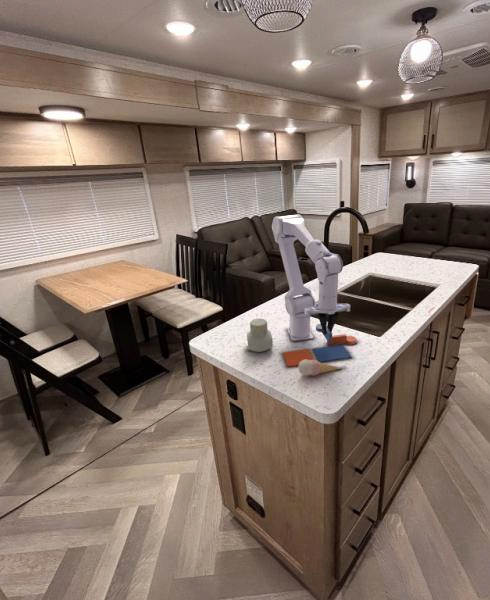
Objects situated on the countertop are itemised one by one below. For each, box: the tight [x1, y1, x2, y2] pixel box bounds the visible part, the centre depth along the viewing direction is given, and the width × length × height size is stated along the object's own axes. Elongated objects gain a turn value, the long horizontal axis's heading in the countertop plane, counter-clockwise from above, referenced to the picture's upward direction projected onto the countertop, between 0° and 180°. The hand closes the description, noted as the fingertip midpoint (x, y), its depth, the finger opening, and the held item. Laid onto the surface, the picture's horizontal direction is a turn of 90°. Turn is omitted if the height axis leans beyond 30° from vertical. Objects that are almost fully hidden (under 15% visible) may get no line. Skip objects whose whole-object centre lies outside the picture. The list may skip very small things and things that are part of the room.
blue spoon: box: [315, 323, 333, 342], centre depth 106 cm, size 11×4×3 cm, turn 12°
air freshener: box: [246, 318, 274, 353], centre depth 111 cm, size 11×8×10 cm
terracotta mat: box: [282, 348, 315, 368], centre depth 106 cm, size 8×9×1 cm
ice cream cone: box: [297, 359, 343, 376], centre depth 98 cm, size 5×5×15 cm
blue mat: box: [312, 344, 352, 363], centre depth 108 cm, size 8×11×1 cm
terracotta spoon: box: [326, 333, 357, 346], centre depth 114 cm, size 11×4×3 cm, turn 102°
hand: (326, 332), depth 104 cm, fingers closed on blue spoon
